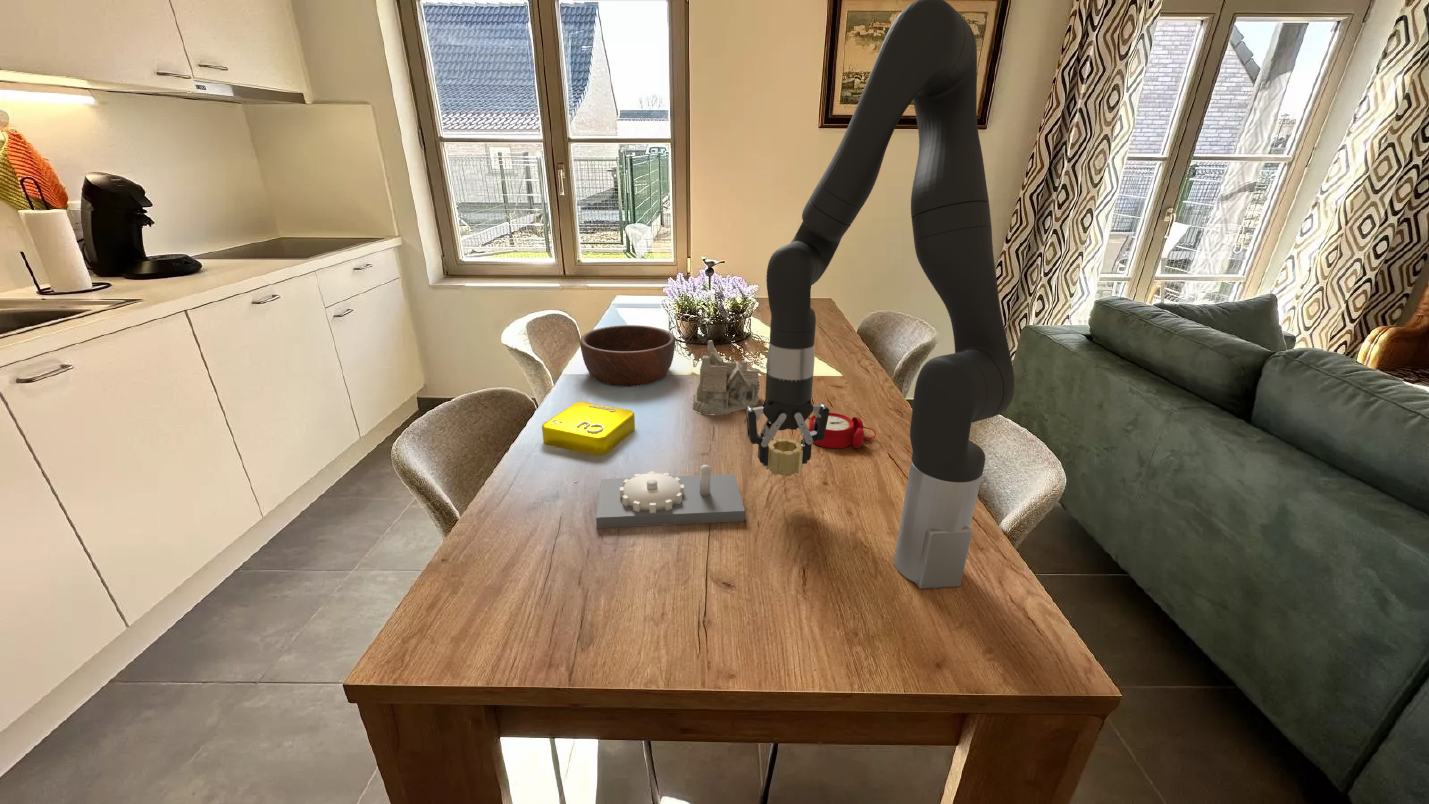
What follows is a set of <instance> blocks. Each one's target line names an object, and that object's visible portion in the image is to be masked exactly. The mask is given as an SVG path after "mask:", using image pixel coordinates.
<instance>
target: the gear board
mask: <svg viewBox="0 0 1429 804" xmlns="http://www.w3.org/2000/svg"><path fill="white" fill-rule="evenodd" d="M737 481H738V480H737V478H736V475H735V473H729V474H728V473H724V474H723V473H722V474H711V467H710V465H708V464H703V465H701V467H700V468H699V475H674V476H672V475H670V473H668V472H663V473H659V472H658V473H657V472H655V471H648V472H647V473H644V474H640V473H638V472H637V473H636V474H633V477H621V478H620V477H619V478H601V479H600V483H599V489H598V490H599V492H598V498H597V506H596V517H595V518H596V519H595V520H596V529H606V528H629V527H649V526H651V527H652V526H668V525H671V526H672V525H673V526H674V525H688V524H690V525H691V524H709V523H710V524H713V523H732V522H735V523H736V522H745V518H746V517H745V514H746V509H745V507H744V503H743V499H742V496H741V493H740V489H739V485H738V482H737Z"/></svg>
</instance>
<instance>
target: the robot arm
mask: <svg viewBox="0 0 1429 804" xmlns="http://www.w3.org/2000/svg"><path fill="white" fill-rule="evenodd" d="M977 81H978V46H977V41H976V36H975V34H974V31H973V29H972V27H971V25H970V24H969V23H968V21H966V20H965V19H964V18H963V16H962V15H960V13H959V12H958V11H957V9H955V8H954V7H953V6H952V5H951V4H950V3H949V2H947V1H945V0H916V1H913V2H912V3H910V4H909V5H907V6H905V8H904V9H903V10H902V11H901V12H900V13H899V14H898V15H897V17H896V18H895V19H894V21H893V23H892V24H891V26H890V28H889V29H888V31H887V34H886V35H885V37H884V40H883V42H882V44H881V47H880V49H879V51H878V55H877V56H876V59H875V61H874V64H873V66H872V68H871V71H870V73H869V77H868V79H867V81H866V83H865V86H864V88H863V91H862V92H861V95H860V98H859V100H858V103H857V104H856V107H855V110H854V112H853V114H852V117H851V119H850V121H849V124H848V126H847V128H846V130H845V132H844V134H843V137H842V139H841V141H840V143H839V145H838V147H837V149H836V151H835V153H834V154H833V157H832V158H831V160H830V162H829V164H828V166H827V167H826V170H825V171H824V173H823V174H822V176H821V178H820V180H819V181H818V183H817V184H816V186H815V188H814V190H813V191H812V193H811V195H810V197H809V199H807V201H806V204H805V206H804V207H803V209H802V210H803V211H802V214H801V219H802V222H801V224H800V226H799V227H798V229H797V232H796V233H795V235H794V237H793V239H792V240H791V242H790V243H789V244H786V245H781V246H780V247H779V248H777V249H776V250H775V251H774V252H773V253H772V254H771V256H770V258H769V260H768V264H767V269H766V290H767V299H768V305H769V310H770V311H769V312H770V327H769V329H770V330H769V344H768V350H767V355H766V363H765V368H766V373H765V374H766V376H765V377H766V378H765V393H764V394H765V397H764V402H763V404H762V405H761V406H756V407H755V406H754V407H752V406H747V407H746V409H745V416H746V417H745V420H746V430H747V431H746V432H747V437H748V439H749V441H750V443H751V444H752V445H757V449H758V450H757V457H758V460H759V463H760V464H762V466H763V467H765V466H768V456H769V446H768V444H769V442H770V441H771V440H772V439H773V438H774V437H775V436H776V435H777V433H778V431H786V430H792V431H793V430H794V431H796V430H799V432H800V435H801V436H802V439H800V444H802V445H803V458H802V465H806V464H808V461H810V460H811V459H812V447H813V446H812V445H813V444H814V443H813V442H815V441H817V440H818V441H822V440H823V439H824V435H825V430H826V426H827V421H828V416H829V413H830V409H829V408H828V406H827V405H826V404H825V403H824V402H820V403H819V404H813V403H812V396H813V395H812V394H813V382H814V372H815V371H814V370H815V357H816V356H815V339H816V326H817V325H816V323H817V321H816V320H817V319H816V312H815V310H814V309H813V308H812V307H811V304H812V303H811V302H812V301H811V299H812V298H811V296H812V295H811V291H812V286H814V284H816V283H817V282H818V281H819V280H820V279H821V277H822V276H823V274H824V273H825V272H826V270H827V269H828V267H829V265H830V263H831V261H832V259H833V257H834V255H835V253H836V251H837V249H838V247H839V246H840V243H841V240H842V238H843V237H844V235H845V234H846V233H847V231H848V229H849V228H850V227H851V225H852V224H853V222H854V220H856V218H857V216H858V215H859V213H860V211H861V210H862V208H863V206H864V205H865V203H866V202H867V200H868V198H869V196H871V195H870V194H871V193H872V191H873V188H874V186H875V184H876V181H877V180H878V177H879V173H880V170H881V167H882V164H883V161H884V157H885V154H886V151H887V148H888V146H889V143H890V141H891V138H892V136H893V134H894V131H895V129H896V127H897V126H898V124H899V121H900V120H901V118H902V116H903V115H904V114H905V112H906V110H907V109H908V107H909V106H910V104H911V103H912V102H913V106H914V112H915V119H916V124H917V131H918V142H919V143H918V144H919V146H918V156H917V162H916V167H915V172H914V178H913V182H912V188H911V196H910V215H911V226H912V235H913V236H912V237H913V243H914V251H915V255H916V257H917V261H918V263H919V265H920V267H921V268H922V271H923V273H924V274H925V276H926V277H927V279H928V281H929V282H930V284H931V285H932V287H933V289H934V290H935V292H936V293H937V295H938V296H939V297H940V300H941V301H942V302H943V305H944V306H945V308H946V310H947V312H948V316H949V320H950V323H951V327H952V333H953V334H952V335H953V341H954V343H953V344H954V353H950V354H944V355H943V354H942V355H939V356H934V357H932V358H931V359H929V360H927V361H926V362H925V363H924V365H923V366H922V367H921V369H920V370H919V372H918V373H919V374H918V376H917V379H916V381H915V387H914V391H913V399H912V400H913V402H912V409H911V410H912V411H911V418H910V428H909V429H910V430H909V438H910V444H911V449H912V453H911V460H910V466H909V472H908V477H907V482H906V488H905V492H904V494H905V495H904V500H903V506H902V511H901V518H900V522H899V527H898V533H897V540H896V546H895V552H894V558H893V563H894V565H895V568H896V570H897V571H898V572H899V573H900V574H901V575H902V577H905V578H906V579H907V580H909V581H911V582H913V583H914V584H916V586H917V587H918V588H919V589H921V590H922V589H937V588H950V587H951V588H952V587H954V588H955V587H960V586H961V584H962V581H963V576H964V570H965V567H966V563H967V559H968V555H969V550H970V547H971V541H972V536H973V534H974V533H973V530H972V529H971V524H972V520H973V516H974V511H975V506H976V503H977V498H978V494H979V490H980V487H981V481H982V478H983V473H984V468H985V464H986V455H985V452H984V450H983V448H982V447H980V446H979V445H978V444H976V443H975V442H974V441H971V440H970V433H971V427H972V423H975V422H979V421H983V420H987V419H990V418H993V417H996V416H1000V415H1001V414H1002V413H1004V412H1005V411H1007V409H1008V408H1009V406H1010V405H1011V403H1012V401H1013V398H1014V394H1015V387H1016V386H1015V384H1016V383H1015V381H1016V380H1015V373H1014V366H1013V360H1012V356H1011V351H1010V348H1009V347H1010V346H1009V343H1008V339H1007V334H1006V329H1005V324H1004V320H1003V315H1002V314H1003V313H1002V310H1001V303H1000V295H999V288H998V278H997V272H996V264H995V257H994V247H993V246H994V245H993V229H992V217H991V209H990V199H989V193H988V186H987V178H986V171H985V164H984V157H983V151H982V144H981V141H980V134H979V128H978V126H979V125H978V112H977V111H978V110H977V109H978V107H977V105H978V104H977V100H978V99H977V98H978V97H977V96H978V95H977V94H978V93H977V92H978V89H977V87H978V86H977V84H978V82H977ZM812 413H813V415H815V416H816V419H815V423H814V428H813V431H812V432H809V430H808V428H809V427H808V426H807V424H806V420H807V419H808V418H810V415H811V414H812ZM761 415H764V416H765V418H767V419H766V421H765V422H764V424H763V427H762V430H761V432H760V434H759V433H758V427H757V421H759V420H760V419H761Z"/></svg>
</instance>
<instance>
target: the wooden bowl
mask: <svg viewBox="0 0 1429 804" xmlns="http://www.w3.org/2000/svg"><path fill="white" fill-rule="evenodd" d="M579 346H580V351H581V355H582V360H583V362H584V366H585V367H586V370H587V371H588V373H589V374H590V375H591V377H592V378H593V379H594V380H595V381H597V382H599V383H602V384H605V385H608V386H614V385H615V387H637V385H639V386H644V385H650V384H653V383H655V382H658V381H660V380H661V378H662V379H663V378H664V377H666V376H667V373H668V372H669V371H670V368H671V367H672V363H673V362H674V361H673V360H674V356H675V348H676V337H675V335H674V334H673V333H671V332H670V331H669V330H666V329H663V328H659V327H655V326H650V325H649V326H648V325H639V324H637V325H636V324H629V325H628V324H626V325H625V324H623V325H621V324H620V325H612V326H604V327H600V328H596V329H592V330H589V331H588V332H586V333H584V334H583V335H582V336H581V337H580V340H579Z"/></svg>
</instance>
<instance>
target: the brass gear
mask: <svg viewBox="0 0 1429 804" xmlns="http://www.w3.org/2000/svg"><path fill="white" fill-rule="evenodd" d="M768 446H769V456H768V466H764V467H765V469H766V470H769V472H771V474H772V475H775V476H777V475H780V476H785V477H791V476H792V475H796V474H798V475H799V474H800V473H801V472H802V468H803V464H802V458H803V445H802V444H801V443H800V442H799V441H798V440H796V439H794V438H793V439H792V438H791V439H788V438H785V439H784V437H779V438H778V437H777V439H773V440H772V439H771V441H770V442H769V444H768Z"/></svg>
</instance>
